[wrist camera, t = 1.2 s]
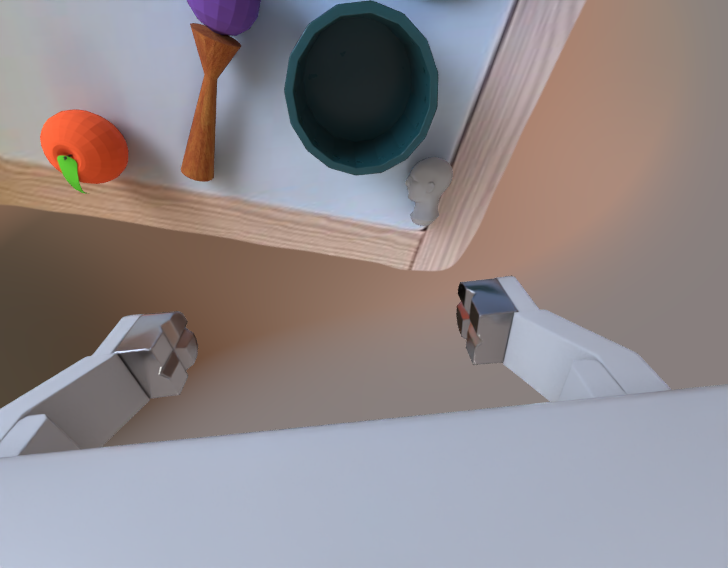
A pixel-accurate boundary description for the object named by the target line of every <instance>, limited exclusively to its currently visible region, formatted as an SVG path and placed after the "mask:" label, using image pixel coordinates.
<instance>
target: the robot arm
mask: <svg viewBox="0 0 728 568" xmlns="http://www.w3.org/2000/svg"><path fill="white" fill-rule="evenodd" d="M458 295H459V297H460V300H461V302H460V303H459V304H458V305H457V313H456V315H457V324H458V328H459V331H460V334H461V336H462V337H463V338H465V339H466V340H467V342H466V349H467V351H468V354H469V356H470V359H471V361H472V363H473V365H478V364H490V363H503V364H504V365H505V366H507V367H508V368H509V369H510V370H512V371H513V372H514V373H515V374H516V375H518V376H519V377H520V378H521V379H523V380H524V381H525V382H526V383H528V384H529V385H530V386H532V387H533V388H534V389H535V390H536V391H538V392H539V393H540V394H542V395H543V396H544V397H545V398H546V399H548V400H549V401H550V402H547V403H537V404H527V405H517V406H507V407H497V408H487V409H479V410H468V411H458V412H448V413H438V414H429V415H418V416H408V417H398V418H388V419H378V420H368V421H358V422H348V423H339V424H328V425H319V426H308V427H299V428H289V429H279V430H269V431H259V432H249V433H239V434H229V435H220V436H210V437H200V438H191V439H181V440H170V441H160V442H150V443H140V444H131V445H121V446H111V447H102V446H103V445H104V444H105V443H106V442H107V441H108V440H109V439H110V438H111V437H112V436H113V435H114V434H115V433H116V432H117V431H118V430H119V429H120V428H122V427H123V425H125V424H126V423H127V422H128V421H129V420H130V419H131V418H132V417H133V416H134V415H135V414H136V413H137V412H138V411H139V410H140V409H141V408H142V407H143V406H144V405H145V404H146V403H147V402H148V401H149V400H150V398H158V397H166V396H173V395H180V393H181V391H182V389H183V386H184V384H185V382H186V380H187V378H188V374H187V372H186V370H187V369H188V368H189V367H191V366H192V365H193V364H194V362H195V360H196V358H197V352H198V344H197V340H196V337H195V335H194V333H192V332H191V331H189V330H188V329H186V328H185V327H186V324H187V320H186V318H185V316H184V315H183V313H181V312H178V311H174V312H162V313H149V314H139V315H129V316H126V317H123V318H122V319H121V320H120V321H119V323H118V324H117V325H116V327H115V328H114V329H113V330H112V331H111V333H110V334H109V335H108V336H107V338H106V339H105V340H104V341H103V343H102V344H101V345H100V346H99V348H98V349H97V350H96V352H95V353H94V354H93V355H92V356H88V357H85V358H83V359H82V360H80V361H78V362H77V363H75V364H73V365H72V366H70V367H69V368H67V369H65V370H64V371H62V372H60V373H59V374H57V375H55V376H54V377H52V378H51V379H49V380H47V381H46V382H44V383H42V384H41V385H39V386H37V387H36V388H34V389H33V390H31V391H29V392H27V393H26V394H24V395H23V396H21V397H19V398H18V399H16V400H14V401H13V402H11V403H9V404H8V405H6V406H5V407H3V408H1V409H0V568H728V384H725V385H715V386H705V387H696V388H686V389H676V390H672V389H670V387H669V386H668V385H667V384H666V383H665V382H664V381H663V380H662V379H661V378H660V377H659V376H658V375H657V374H656V373H655V372H654V370H653V369H652V368H651V367H650V366H649V365H648V364H647V363H646V362H645V361H644V360H643V359H642V358H641V357H640V356H639V355H638V354H637V353H636V352H634V351H632V350H630V349H628V348H626V347H623V346H621V345H619V344H617V343H615V342H613V341H611V340H609V339H606V338H604V337H602V336H600V335H598V334H596V333H594V332H592V331H590V330H587V329H585V328H583V327H581V326H579V325H577V324H575V323H573V322H571V321H568V320H566V319H564V318H562V317H560V316H558V315H556V314H553V313H551V312H549V311H547V310H539V308H538V307H537V306H536V304H535V303H534V302H533V300H532V299H531V298H530V297H529V295H528V294H527V292H526V291H525V290H524V288H523V287H522V286H521V284H520V283H519V282H518V280H517V279H516V278H515V277H513V276H505V277H499V278H494V279H486V280H476V281H467V282H460V284H459V288H458Z"/></svg>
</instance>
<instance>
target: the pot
mask: <svg viewBox="0 0 728 568" xmlns="http://www.w3.org/2000/svg"><path fill="white" fill-rule="evenodd" d="M284 93H285V98H286V103H287V108H288V113H289V118H290V123H291V125H292V127H293V128H294V130H295V132H296V133H297V135H298V137H299V138H300V140H301V141H302V143H303V145H304V146H305V148H306V150H307V151H308V152H310V153H311V154H312V155H314V156H315V157H316V158H317V159H319V160H320V161H321V162H323V163H324V164H325V165H326V166H328V167H329V168H331V169H335V170H338V171H342V172H345V173H349V174H352V175H365V174H374V173H382V172H384V171H386V170H388V169H390V168H391V167H393V166H395V165H397V164H399V163H401V162H403V161H404V160H406V159H407V158H408V157H409V156H410V155H411V154H412V153H413V151H414V150H415V149H416V148H417V147H418V146H419V145H420V143H421V142H422V141H423V140H424V139H425V138H426V135H427V133H428V130H429V128H430V125H431V122H432V120H433V117H434V115H435V112H436V110H437V103H438V71H437V68H436V65H435V62H434V59H433V56H432V53H431V50H430V47H429V44H428V41H427V39H426V38H425V37H424V36H423V35H422V33H421V32H420V31H419V30H418V29H417V28H416V27H415V26H414V24H413V23H412V22H411V21H410V20H409V19H408V18H407V17H406V15H405V14H403V13H401V12H399V11H396V10H394V9H392V8H389V7H387V6H384V5H382V4H379V3H377V2H374V1H371V0H370V1H362V2H353V3H344V4H338V5H335V6H334V7H333V8H331V9H330V10H328V11H327V12H325V13H324V14H322V15H321V16H319V17H318V18H317V19H315V20H314V21H312V22H311V23H309V24H308V25H307V27H306V29H305V30H304V32H303V34H302V35H301V37H300V39H299V40H298V42H297V44H296V45H295V47H294V49H293V51H292V52H291V54H290V57H289V62H288V69H287V75H286V82H285V88H284Z"/></svg>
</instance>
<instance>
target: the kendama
mask: <svg viewBox="0 0 728 568" xmlns="http://www.w3.org/2000/svg"><path fill="white" fill-rule="evenodd" d="M187 2H188V4H189V6H190V7H191V9H192V11H193V12H194V14H195V15H196V17H197V19H199V20H200V21H201V22H202V23H203V24H204V25H206V26H204V25H201V24H196V23H192V24H190V25H191V29H192V32H193V36H194V39H195V43H196V46H197V50H198V53H199V57H200V60H201V63H202V67H203V70H204V74H205V75H204V79H203V83H202V87H201V91H200V95H199V99H198V103H197V107H196V111H195V115H194V119H193V123H192V127H191V131H190V135H189V139H188V143H187V147H186V151H185V155H184V159H183V163H182V167H181V172H182V173H183V174H184V175H185V176H187V177H188V178H190V179H193V180H196V181H202V182H203V181H210V180H212V179H213V178H214V152H215V124H216V95H217V78H218V77H219V76H220V74H221V73H222V72H223V70H224V69H225V68H226V66H227V65H228V64H229V62H230V61H231V59H232V58H233V57H234V55H235V54H236V53H237V51H238V50H239V49H240V47H241V44H240V43H239V42H238V41H236V40H235V39H234V38H232V37H230V36H228V35H232V36H237V35H239V34H241V33H242V32H244V31H246V30H248V29H250V27H251V26H252V25H253V23H254V22H255V20H256V19H257V17H258V13H259V7H260V2H261V0H187Z"/></svg>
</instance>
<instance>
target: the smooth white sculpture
mask: <svg viewBox="0 0 728 568" xmlns="http://www.w3.org/2000/svg"><path fill="white" fill-rule="evenodd" d="M452 176H453V172H452V167H451V165H450V164H449V163H448V162H447V161H446V160H444V159H441V158H437V157H429V158H426V159H424V160H422V161H420V162H419V163H417V164H416V165H415V166H414V167H413V169H412V170H411V173H410V175H409V177H408V178H407V179H406V181H405V185H406V186H407V187H408V188H407V189H408V193H409V194H408V198H409V199H410V200H412V201H414V202H415V206H414V211H413V212H412V213H411V214H410V217H411V219H412V221H413V223H415V224H417V225H420V226H427V225H430V224H431V223H432V222H433V221H434V220H435V219H436V218H437V217H438V216H439V213H438V201H439V198H440V196H441V194H442V193H443V192H444V191H445V190H446V189H447V188H448V186H449V185H450V183H451V181H452Z"/></svg>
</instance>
